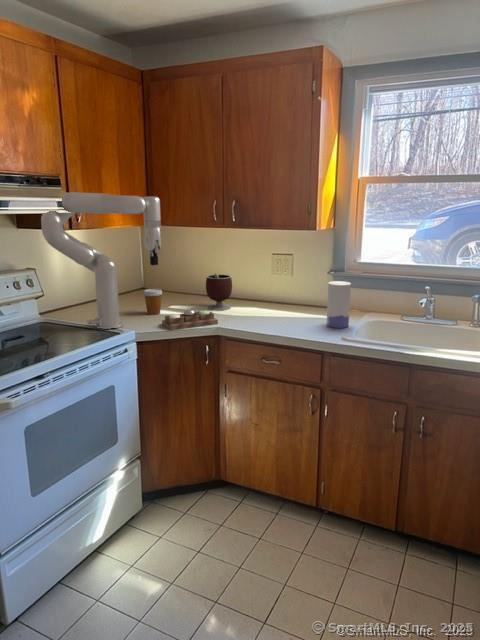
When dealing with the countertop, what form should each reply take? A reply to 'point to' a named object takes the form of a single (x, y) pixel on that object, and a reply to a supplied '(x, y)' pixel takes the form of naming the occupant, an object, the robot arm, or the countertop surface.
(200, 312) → the sage button
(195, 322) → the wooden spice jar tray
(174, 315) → the cream button
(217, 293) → the mate gourd
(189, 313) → the grey button
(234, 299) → the countertop surface
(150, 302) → the disposable coffee cup
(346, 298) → the container
